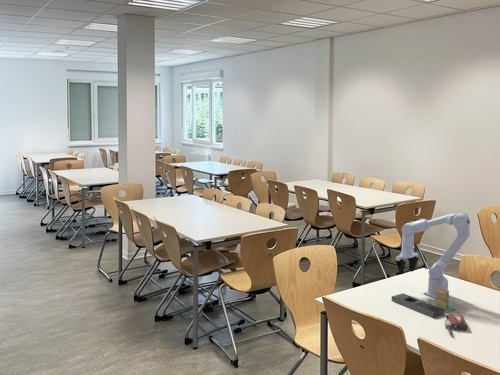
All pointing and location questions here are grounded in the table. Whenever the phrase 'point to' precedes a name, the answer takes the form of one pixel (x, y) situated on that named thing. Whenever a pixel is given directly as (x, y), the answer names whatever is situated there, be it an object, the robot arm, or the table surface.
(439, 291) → the oak peg
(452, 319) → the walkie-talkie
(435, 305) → the teal mat
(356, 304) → the table surface
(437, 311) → the rack frame
